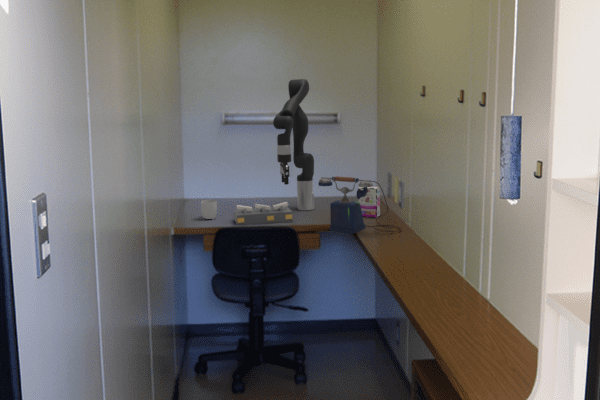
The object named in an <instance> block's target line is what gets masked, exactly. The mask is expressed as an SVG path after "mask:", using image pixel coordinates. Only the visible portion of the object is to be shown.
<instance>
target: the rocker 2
mask: <svg viewBox="0 0 600 400" xmlns="http://www.w3.org/2000/svg"><path fill="white" fill-rule="evenodd" d="M280 206H283V207H288V206H289V202H288V201H284V202H280V203H277V204H272V208H273V209H274V210H275V209H279V208H280Z"/></svg>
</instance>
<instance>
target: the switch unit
mask: <svg viewBox="0 0 600 400" xmlns="http://www.w3.org/2000/svg"><path fill="white" fill-rule="evenodd" d="M233 219H234V220H235V221H234V222H236V223H235V224H236V226H237V225H239V226H248V225H247V224H252V225H261V224H263V225H264V224H265V225H266V224H276V223H289V222H290V223H292V221H293V210H291V208H289V207H288V206H286V207H283V206H280V208H279V209H275V210H274V209H273V207H271V209H270V210H267V209H265V207H262V209H260V208H252V211H247V209H246V208H245V209H243V210H240V209H234V210H233Z"/></svg>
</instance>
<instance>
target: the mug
mask: <svg viewBox="0 0 600 400" xmlns="http://www.w3.org/2000/svg"><path fill="white" fill-rule="evenodd" d="M200 209H201V215H202V218H203V217H204V218H215V217H216V218H217V214H218V202H217V200H216V199H204V200H201V201H200ZM204 218H203V219H204ZM216 218H215V219H216Z"/></svg>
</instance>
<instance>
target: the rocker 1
mask: <svg viewBox="0 0 600 400" xmlns="http://www.w3.org/2000/svg"><path fill="white" fill-rule="evenodd" d="M245 208H246V209H247V211H252V209H253V207H252V206H247V205H241V204H236V210H243V209H245Z"/></svg>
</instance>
